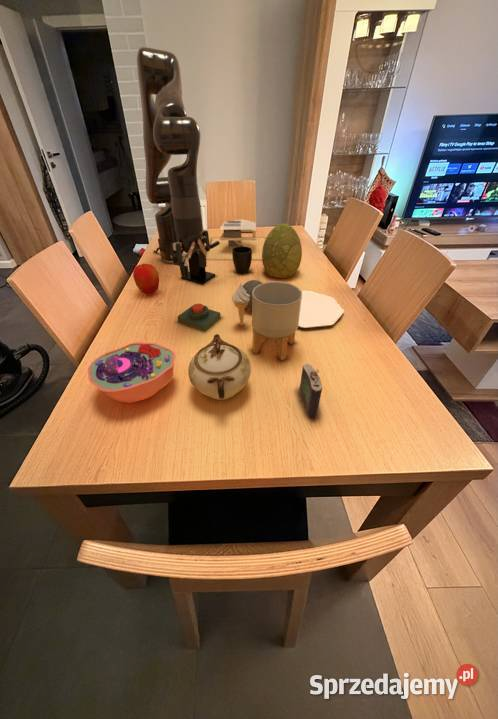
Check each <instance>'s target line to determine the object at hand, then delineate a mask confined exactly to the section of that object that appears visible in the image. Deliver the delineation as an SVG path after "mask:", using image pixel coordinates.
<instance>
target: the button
mask: <svg viewBox="0 0 498 719" xmlns="http://www.w3.org/2000/svg"><path fill="white" fill-rule="evenodd" d="M203 305H204V304H203V303H194V304H193V305H191V306H192V308H193V312H194V313H202V312H203V311H204V306H205V305H204V306H203Z"/></svg>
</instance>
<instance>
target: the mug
mask: <svg viewBox="0 0 498 719" xmlns="http://www.w3.org/2000/svg"><path fill="white" fill-rule="evenodd" d="M232 257H233V259H232V263H233V267H234V269H235V273H236V274H239V275H247V274H248V273H249V272H250V268H251V265H252V261H253V259H252V249H251V248H250V247H245V246H243V245H240V246H239V247H235V248H233V249H232Z"/></svg>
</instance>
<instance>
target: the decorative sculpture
mask: <svg viewBox="0 0 498 719" xmlns="http://www.w3.org/2000/svg"><path fill="white" fill-rule="evenodd" d="M265 238H266V240H265V242H264V245H263V250H262V259H261V260H262V261H261V262H262V266H263V268H264V270H265V272H266V274H267V275H269V277H272V278H276V279H288V278H290V277H292V276H294V275H295V273H296V272H297V271H298V269H299V267H300V265H301V262H302V258H303V247H302V242H301V239H300V236H299V235H298V233H297V231H296V230H295V229H294V227H293V226H292V225H290V224H288V223H280V224H279V223H278V224H277V225H275V226H274V227H273V228H272V229H271V230H270V231H269V233H268V234H267V236H266V237H265Z"/></svg>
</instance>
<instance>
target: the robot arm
mask: <svg viewBox="0 0 498 719" xmlns="http://www.w3.org/2000/svg"><path fill="white" fill-rule="evenodd" d="M136 67H137V77H138V85H139V94H140V103H141V112H142V134H143V135H142V136H143V137H142V138H143V149H144V150H143V151H144V160H145V194H146V197H147V199H148V201H149V203H151V204H153V205H161V204H162V205H163V204H165V203H166V205H165V206H164V207H162V208H163V209H162V210H159V211H157V212H156V213H155V214H154V218H155V224H156V229H157V234H158V238H157V242H158V247H157V248H156V250H154V249H153V253H155V254H157V253H158V252H160V258H161V260H162V261H163V262H164V263H166V264H172V265H173V266H178V267H179V270H180V277H181V276H182V277H183V278H189V263H188V260H189V259H190V258H191V254H193V253H194V252H198V254H199V255H198V257H199V266H200V267H202V268H205V269H206V268H207V267H208V266H207V264H208V262H207V259H206V257H207V254H208V251H210V244H211V242H210V237H209V231H208V230H205V229H204V224H203V214H202V205H201V204H202V203H201V200H200V194H199V187H198V186H199V185H198V158H199V153H200V152H199V151H200V146H201V130H200V126H199V124H198V122H197V121H196V119H195V118H193V117H191V116H188V115H187V111H186V107H185V104H184V100H183V86H182V74H181V68H180V63H179V60H178V58H177V56H176V55H175V53H173V52H171V51H167V50H163V49H158V48H151V47H148V46H141V47H140V48H139V49H138V51H137V56H136ZM155 95H156V96H155ZM153 96H155V99H154V97H153ZM183 155H186V159H185V160H184V162H183V163H182V164H179V165H175V166H173V167H170V168H169V169H168V170H167V176H161V177H160V175H161V173H162V172H163V170H164V169H165V168H166V167H167V165H168V164H169V162H170V160H171V158H172V156H183ZM205 245H206V246H205Z"/></svg>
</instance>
